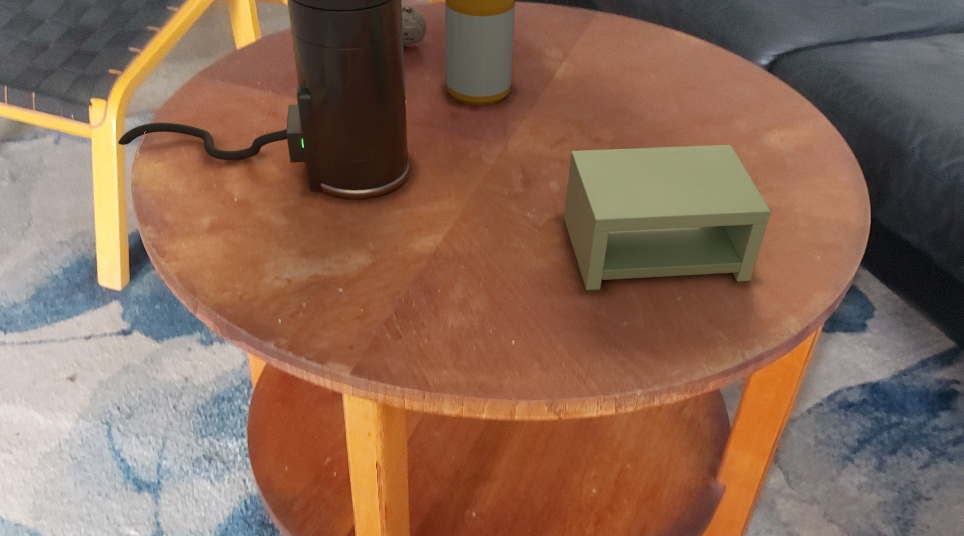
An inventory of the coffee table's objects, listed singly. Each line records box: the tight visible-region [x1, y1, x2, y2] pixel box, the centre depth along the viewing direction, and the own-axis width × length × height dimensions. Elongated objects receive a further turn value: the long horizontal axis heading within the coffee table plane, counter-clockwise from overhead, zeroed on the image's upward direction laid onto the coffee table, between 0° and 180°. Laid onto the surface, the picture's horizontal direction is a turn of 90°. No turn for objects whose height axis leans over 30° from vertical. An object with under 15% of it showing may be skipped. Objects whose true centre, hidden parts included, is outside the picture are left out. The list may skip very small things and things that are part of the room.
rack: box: [563, 144, 772, 291], centre depth 74 cm, size 14×10×7 cm
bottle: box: [444, 0, 516, 106], centre depth 90 cm, size 7×7×15 cm
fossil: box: [401, 5, 427, 47], centre depth 101 cm, size 6×3×5 cm, turn 93°
